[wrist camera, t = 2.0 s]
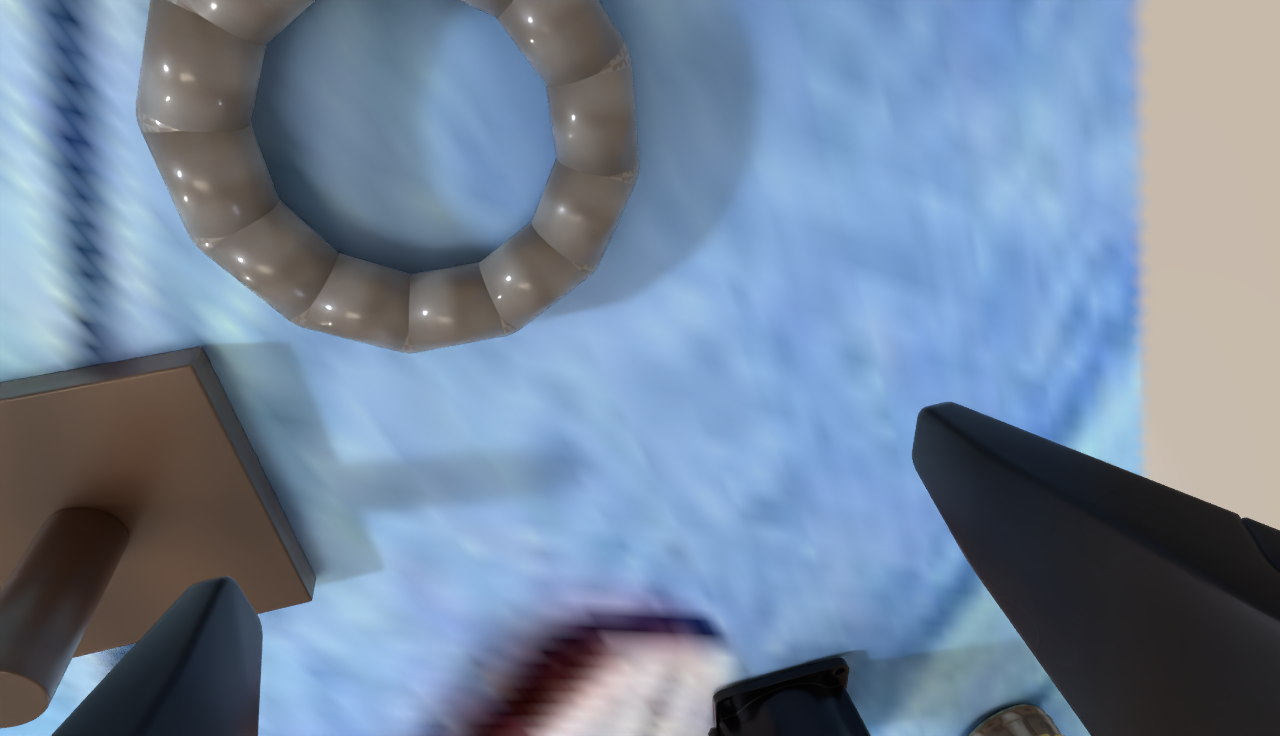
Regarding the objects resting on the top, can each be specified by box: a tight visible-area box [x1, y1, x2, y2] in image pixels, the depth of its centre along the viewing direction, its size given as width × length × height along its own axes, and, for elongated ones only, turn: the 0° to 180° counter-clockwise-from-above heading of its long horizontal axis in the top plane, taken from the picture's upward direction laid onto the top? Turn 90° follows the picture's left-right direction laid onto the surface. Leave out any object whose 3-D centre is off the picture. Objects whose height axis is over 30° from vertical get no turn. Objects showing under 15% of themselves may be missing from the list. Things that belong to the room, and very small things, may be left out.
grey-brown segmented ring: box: [136, 0, 640, 353], centre depth 16 cm, size 10×10×2 cm
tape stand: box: [0, 347, 316, 728], centre depth 18 cm, size 9×9×6 cm
